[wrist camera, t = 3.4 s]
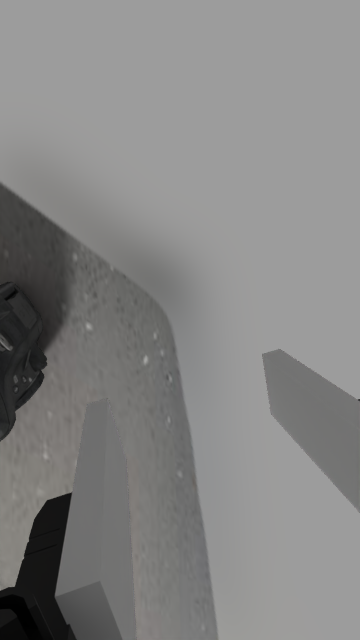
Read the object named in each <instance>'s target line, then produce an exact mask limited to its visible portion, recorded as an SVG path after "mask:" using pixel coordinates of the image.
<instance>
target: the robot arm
mask: <svg viewBox="0 0 360 640" xmlns="http://www.w3.org/2000/svg"><path fill="white" fill-rule="evenodd" d="M262 357H263V363H264V370H265V377H266V383H267V390H268V396H269V404H270V411H271V415H272V416H273V417H274V418H275V419H276V420H277V421H278V422H279V424H280V425H281V426H282V427H283V428H284V429H285V430H286V431H287V432H288V434H289V435H290V436H291V437H292V438H293V439H294V440H295V441H296V442H297V444H299V446H300V447H301V448H302V449H303V450H304V451H305V452H306V454H307V455H308V456H309V457H310V458H311V459H312V460H313V461H314V462H315V464H316V465H317V466H318V467H319V468H320V469H321V470H322V471H323V472H324V474H325V475H326V476H327V477H328V478H329V479H330V480H331V481H332V482H333V484H334V485H335V486H336V487H337V488H338V489H339V490H340V491H341V492H342V494H343V495H344V496H345V497H346V498H347V499H348V500H349V501H350V502H351V504H352V505H353V506H354V507H355V508H356V509H357V510H358V511H359V512H360V399H358V400H357V399H355V398H354V397H352V396H351V395H349V394H348V393H346V392H345V391H343V390H342V389H340V388H338V387H337V386H336V385H334V384H332V383H331V382H329V381H328V380H326V379H325V378H323V377H322V376H320V375H319V374H317V373H316V372H314V371H312V370H311V369H310V368H308V367H307V366H305V365H304V364H302V363H300V362H299V361H297V360H296V359H294V358H293V357H291V356H290V355H288V354H287V353H285V352H284V351H282V350H281V349H278V350H275V351H271V352H268V353H264V354H262ZM0 640H137V637H136V619H135V601H134V583H133V565H132V547H131V529H130V511H129V493H128V475H127V459H126V456H125V452H124V449H123V446H122V443H121V439H120V436H119V433H118V430H117V426H116V423H115V420H114V416H113V413H112V410H111V407H110V403H109V400H108V398H106V399H103V400H99V401H96V402H92V403H89V404H87V407H86V413H85V419H84V425H83V431H82V437H81V443H80V449H79V455H78V461H77V467H76V473H75V479H74V485H73V491H72V493H69V494H65V495H62V496H59V497H56V498H53V499H50V500H47V501H46V502H45V504H44V505H43V507H42V508H41V510H40V511H39V513H38V514H37V516H36V517H35V519H34V522H33V526H32V529H31V533H30V536H29V542H28V543H27V546H26V550H25V553H24V559H23V560H22V564H21V567H20V571H19V574H18V578H17V581H16V585H15V587H8V588H6V589H4V590H1V591H0Z"/></svg>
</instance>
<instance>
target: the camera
mask: <svg viewBox="0 0 360 640" xmlns="http://www.w3.org/2000/svg"><path fill="white" fill-rule="evenodd" d="M42 330H43V327H42V320H41V317H40V315H39V314H38V312H37V311H36V309H35V308H34V307H33V305H32V304H31V302H30V301H29V299H28V298H27V297H26V296H25V295H24V293H23V292H22V291H21V290H20V289H19V288H18V286H17V285H16V284H14V283H12V282H7V283H5V284H2V285H0V441H1V440H3V439H4V438H5V437H6V436H7V435H8V434H9V433H10V431H11V429H12V428H13V426H14V423H15V420H16V415H15V411H16V410H17V409H19V408H20V407H21V406H22V405H24V404H25V403H26V402H27V401H28V400H29V399H30V398H31V397H32V396H33V394H34V393H35V392H36V391H37V390H38V388H39V387H40V386H41V384H42V382H43V379H44V374H43V373H42V371H41V370H42V369H44V368H45V367H46V366H47V362H46V360H47V358H46V356H45V355H44V354H43V352H42V351H41V350H40V348H39V347H38V346H37V344H36V343H37V340H38V338H39V336H40V334H41V332H42Z"/></svg>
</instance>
